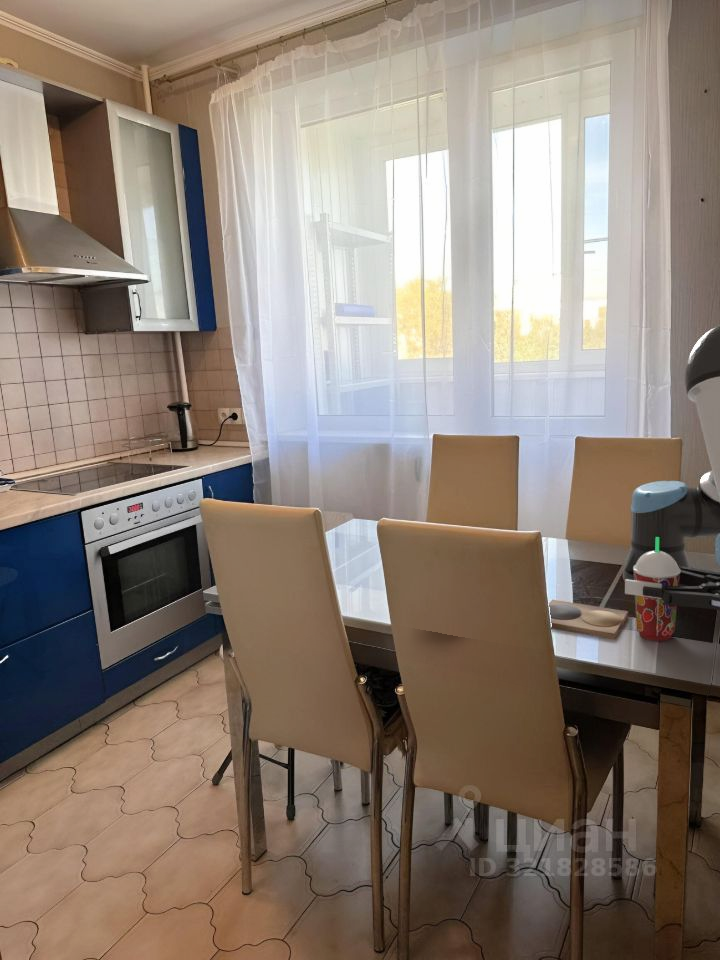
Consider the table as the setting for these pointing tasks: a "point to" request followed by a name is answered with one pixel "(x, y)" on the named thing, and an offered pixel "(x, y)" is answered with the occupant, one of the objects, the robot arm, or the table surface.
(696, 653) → the table surface
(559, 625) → the coaster board
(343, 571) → the table surface
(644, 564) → the smoothie
